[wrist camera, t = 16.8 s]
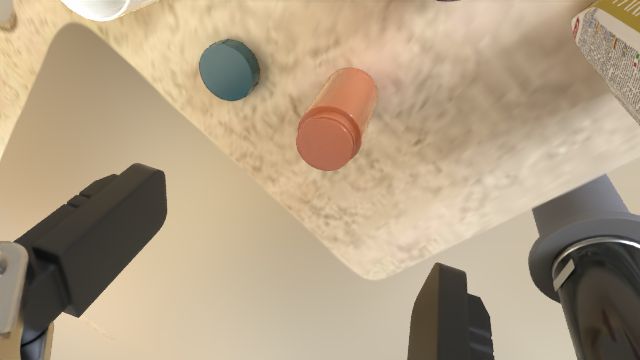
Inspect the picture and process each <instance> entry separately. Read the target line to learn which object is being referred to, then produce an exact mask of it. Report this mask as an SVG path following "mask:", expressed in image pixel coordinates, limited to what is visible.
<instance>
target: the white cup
mask: <svg viewBox="0 0 640 360" xmlns="http://www.w3.org/2000/svg"><path fill="white" fill-rule="evenodd" d="M61 1H62V2H63V3H64V4H65V5H66V6H67V7H68V8H70V9H71V10H72V11H74V12H75V13H77V14H78V15H80V16H82V17H84V18H87V19H89V20H93V21H99V22H106V21H111V20H114V19H116V18H119V17H121V16H124V15H126V14H129V13H131V12H134V11H136V10H139V9H141V8H144V7H146V6H149V5H151V4H154V3H156V2H158V1H160V0H61Z"/></svg>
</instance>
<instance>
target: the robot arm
mask: <svg viewBox="0 0 640 360" xmlns="http://www.w3.org/2000/svg"><path fill="white" fill-rule="evenodd" d="M165 182H166V181H165V174H164V172H163V171H161V170H158V169H155V168H152V167H149V166H146V165H143V164H140V163H135V164H133V165H131V166H130V167H129V168H127V169H126V170H125V171H124V172H122V173H121V174H120V175H116V174H112V175H110V176H107V177H104V178H102V179H99V180H97V181H94V182H93V183H92V184H90V185H89V186H88V187H87V188H85V189H84V190H82V191H81V192H80V193H79V195H76V196H74V197H73V198H72V199H70V200H69V201H68V202H67V204H66V205H65V204H64V205H62V206H61V207H60V208H58V209H57V210H56V211H54V212H53V213H52V214H50V215H49V216H48V217H46V218H45V219H44V220H42V221H41V222H40V223H38V224H37V225H36V226H34V227H33V228H32V229H30V230H29V231H27V232H26V233H25V234H23V235H22V236H21V237H20V238H18V239H17V240H15V241H14V242H9V241H0V360H50V356H51V348H52V340H53V331H54V323H53V321H54V320H55V319H56V318H57V317H58V316H59V315H60V314H61V313H62V312H64V313H67V314H70V315H72V316H75V317H78V318H79V317H80V316H81V315H82V314H83V313H84V312H85V310H86V309H87V308H88V307H89V306H90V305H91V304H92V303H93V302H94V301H95V300H96V299H97V297H98V296H99V295H100V294H101V293H102V292H103V291H104V290H105V289H106V288H107V286H108V285H109V284H110V283H111V282H112V281H113V280H114V279H115V278H116V277H117V276H118V275H119V273H120V272H121V271H122V270H123V269H124V268H125V267H126V266H127V265H128V264H129V263H130V262H131V260H132V259H133V258H134V257H135V256H136V255H137V254H138V253H139V252H140V251H141V250H142V249H143V247H144V246H145V245H146V244H147V243H148V242H149V241H150V240H151V239H152V238H153V236H154V235H155V234H156V233H157V232H158V231H159V230H160V228H161V227H162V225H163V224H164V221H165V219H166V215H167V199H166V183H165ZM551 273H552V277H553V280H554V282H553V284H554V288H555V292H556V291H557V290H558V294H559V297H560V301H561V305H562V308H563V311H564V315H565V318H566V322H567V325H568V329H569V332H570V335H571V339H572V342H573V346H574V349H575V353H576V356H577V359H578V360H640V242H639V241H637V240H635V239H632V238H629V237H625V236H619V235H596V236H590V237H586V238H582V239H579V240H577V241H575V242H572V243H570V244H569V245H567V246H566V247H564V248H563V249H562V250H560V251H559V252H558V254H557V255H556V256H555V258H554V260H553V262H552V265H551ZM491 336H492V332H491V323H490V316H489V314H488V312H487V310H486V308H485V306H484V304H483V302H482V300H481V298H480V297H477V296H474V295H471V294H468V293H467V278H466V273H465V272H464V271H462V270H459V269H456V268H453V267H450V266H447V265H444V264H441V263H435V265H434V266H433V268H432V270H431V272H430V273H429V275H428V277H427V279H426V281H425V283H424V285H423V287H422V288H421V290H420V292H419V294H418V296H417V298H416V301H415V303H414V307H413V310H412V316H411V325H410V336H409V346H408V358H407V360H494V356H493V352H494V351H493V342H492V339H491Z"/></svg>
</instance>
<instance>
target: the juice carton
mask: <svg viewBox="0 0 640 360" xmlns="http://www.w3.org/2000/svg"><path fill="white" fill-rule="evenodd" d="M571 26H572V30H573V34H574V37H575V41H576V43H577V46H578V48H579V49H580V51H581V53H582V54H583V55H584V57H585V58H586V59H587V61H588V62H589V63H590V64H591V65H592V67H593V68H594V69H595V70H596V71H597V72H598V73H599V74H600V76H601V77H602V78H603V79H604V80H605V82H606V83H607V85H608V87H609V88H610V90H611V91H612V93H613V94H614V96H615V97H616V98H617V100H618V101H619V102H620V103H621V105H622V106H623V107H624V108H625V109H626V111H627V112H628V113H629V114H630V115H631V116H632V117H633V118H634V120H635V121H636V122H637V123H638V124H639V125H640V0H597V1H595V2H594V3H593V4H591V5H590V6H589V7H587V8H586V9H584V10H583V11H582V12H580V13H579V14H578V15H577V16H575V17H574V18H573V20H572V22H571Z"/></svg>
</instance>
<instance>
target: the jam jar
mask: <svg viewBox="0 0 640 360" xmlns="http://www.w3.org/2000/svg"><path fill="white" fill-rule="evenodd" d="M377 100H378V91H377V87H376V84H375V82H374V81H373V79H372V78H371V77H370V76H369V75H368V74H366V73H365V72H363V71H361V70H359V69H355V68H346V69H342V70H339V71H337V72H336V73H334V74H333V75H332V76H331V77H330V78H329V80H328V81H327V83H326V84H325V85H324V87H323V88H322V90H321V91H320V93H319V94H318V95H317V97H316V98H315V100H314V101H313V102H312V104H311V105H310V107H309V108H308V109H307V111H306V112H305V114H304V115H303V116H302V118H301V120H300V122H299V125H298V134H297V139H296V144H297V149H298V151H299V154H300V155H301V157H302V158H303V159H304V160H305V161H306V162H307V163H308V164H309V165H311V166H312V167H314V168H317V169H320V170H325V171H331V170H336V169H339V168H341V167H343V166H344V165H345V164H346V163H347V162H348V161H349V160H351V159H352V158H353V157H354V156H355V155H356V154H357V153H358V151H359V149H360V146H361V144H362V141H363V138H364V136H365V133H366V130H367V128H368V125H369V122H370V120H371V117H372V114H373V112H374V109H375V106H376V104H377Z"/></svg>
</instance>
